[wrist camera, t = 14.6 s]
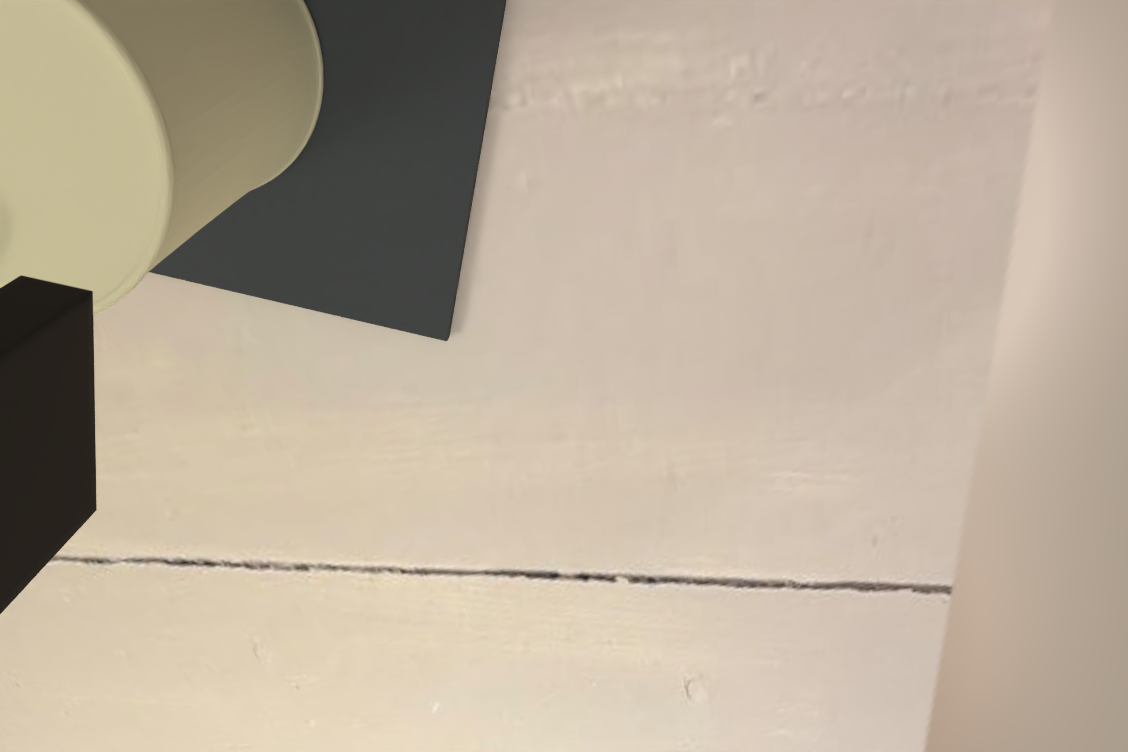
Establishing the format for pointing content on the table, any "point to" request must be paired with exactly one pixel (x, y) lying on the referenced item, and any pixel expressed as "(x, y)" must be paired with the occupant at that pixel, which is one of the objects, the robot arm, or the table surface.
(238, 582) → the table surface
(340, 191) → the mat
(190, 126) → the can
